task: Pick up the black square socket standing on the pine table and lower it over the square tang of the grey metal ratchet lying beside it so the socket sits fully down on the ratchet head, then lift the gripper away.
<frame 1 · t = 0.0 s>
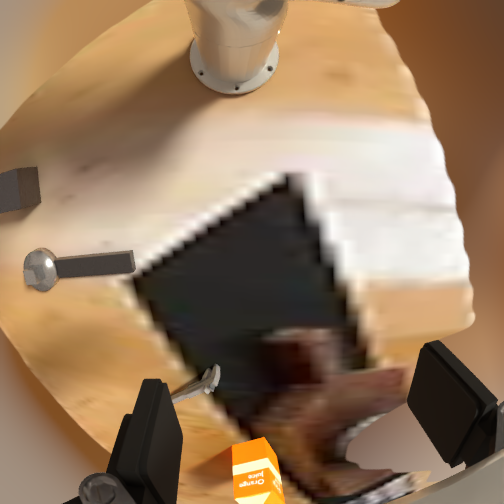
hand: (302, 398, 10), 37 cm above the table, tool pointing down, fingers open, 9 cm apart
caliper: (178, 389, 54), on the table
socket: (26, 187, 41), on the table
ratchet: (44, 267, 45), on the table
orange juice: (254, 450, 60), on the table
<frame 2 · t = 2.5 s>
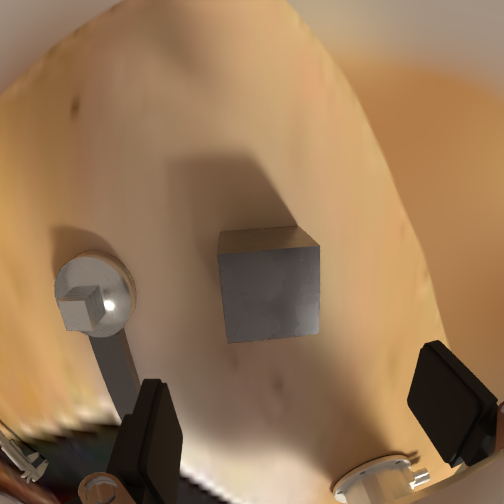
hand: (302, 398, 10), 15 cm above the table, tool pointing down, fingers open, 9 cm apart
socket: (262, 266, 25), on the table
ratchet: (98, 290, 24), on the table
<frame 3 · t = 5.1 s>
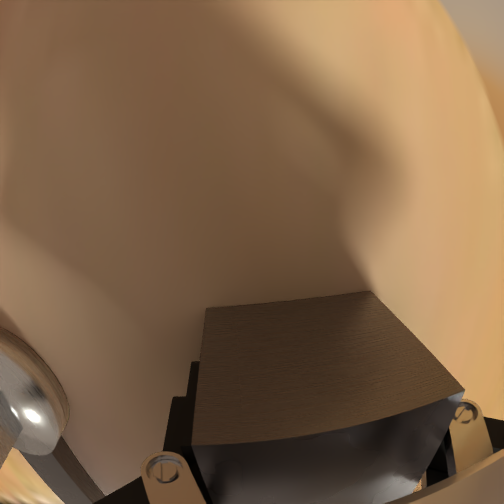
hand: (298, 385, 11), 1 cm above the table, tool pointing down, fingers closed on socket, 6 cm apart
socket: (292, 367, 12), on the table, touching gripper
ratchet: (13, 383, 11), on the table
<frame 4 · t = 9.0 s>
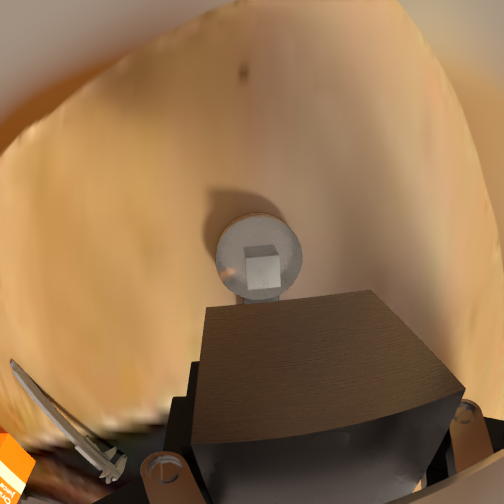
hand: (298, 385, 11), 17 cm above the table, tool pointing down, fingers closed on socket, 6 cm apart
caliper: (69, 411, 32), on the table
socket: (292, 367, 12), point 16 cm above the table, touching gripper
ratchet: (257, 253, 27), on the table
orange juice: (10, 446, 35), on the table
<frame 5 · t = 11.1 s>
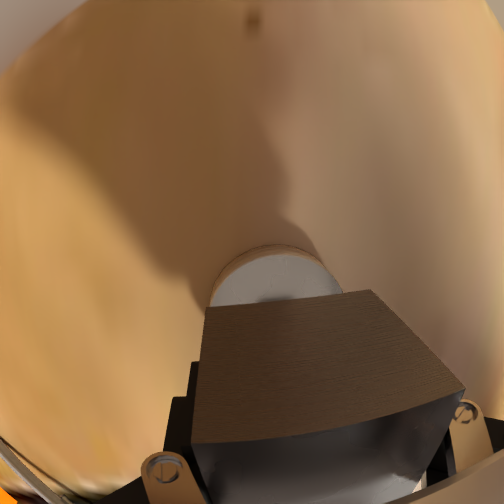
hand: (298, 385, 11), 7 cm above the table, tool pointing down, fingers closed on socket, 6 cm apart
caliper: (41, 467, 22), on the table
socket: (292, 366, 12), point 6 cm above the table, touching gripper
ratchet: (273, 306, 17), on the table
when the fingers open (3 cm above the table, at t = 12.9 s): socket stays where it is, resting on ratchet.
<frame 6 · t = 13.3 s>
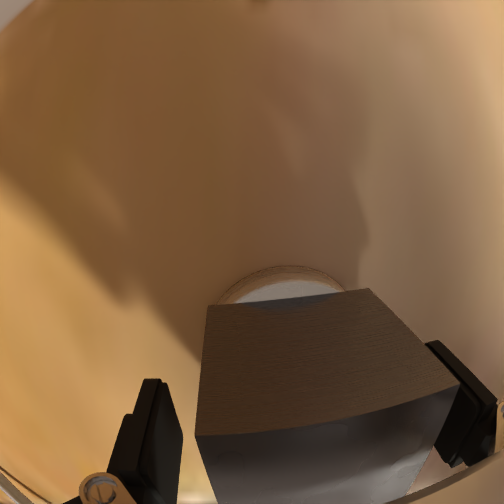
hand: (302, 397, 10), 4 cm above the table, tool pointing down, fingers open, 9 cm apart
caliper: (31, 487, 19), on the table
socket: (292, 364, 12), point 2 cm above the table, touching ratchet
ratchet: (283, 338, 14), on the table
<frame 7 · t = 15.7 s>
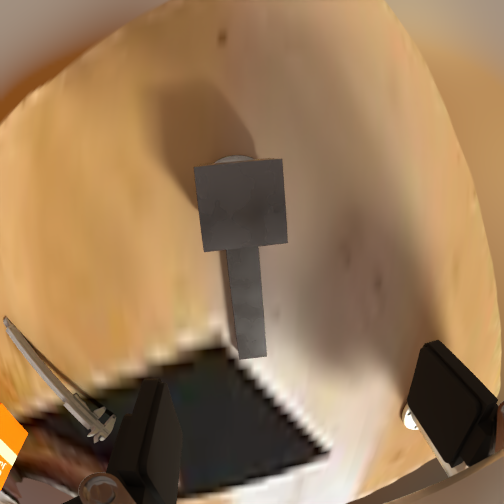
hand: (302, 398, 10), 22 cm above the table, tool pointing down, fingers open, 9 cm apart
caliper: (59, 369, 34), on the table
socket: (238, 195, 27), point 2 cm above the table, touching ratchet
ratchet: (236, 192, 29), on the table
orange juice: (4, 419, 36), on the table
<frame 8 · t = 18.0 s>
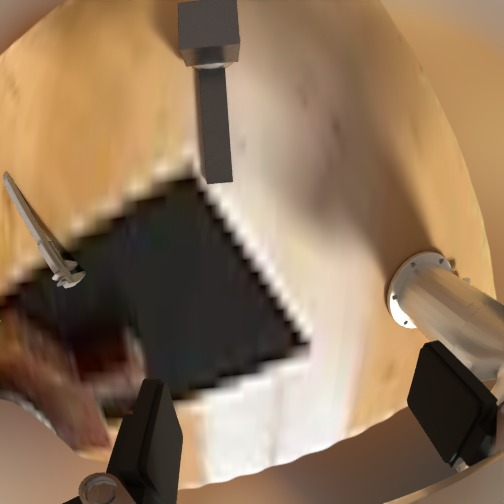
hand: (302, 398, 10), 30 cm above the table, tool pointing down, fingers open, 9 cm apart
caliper: (42, 222, 37), on the table
socket: (210, 42, 30), point 2 cm above the table, touching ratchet
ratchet: (211, 47, 32), on the table
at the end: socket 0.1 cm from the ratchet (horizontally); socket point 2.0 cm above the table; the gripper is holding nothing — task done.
